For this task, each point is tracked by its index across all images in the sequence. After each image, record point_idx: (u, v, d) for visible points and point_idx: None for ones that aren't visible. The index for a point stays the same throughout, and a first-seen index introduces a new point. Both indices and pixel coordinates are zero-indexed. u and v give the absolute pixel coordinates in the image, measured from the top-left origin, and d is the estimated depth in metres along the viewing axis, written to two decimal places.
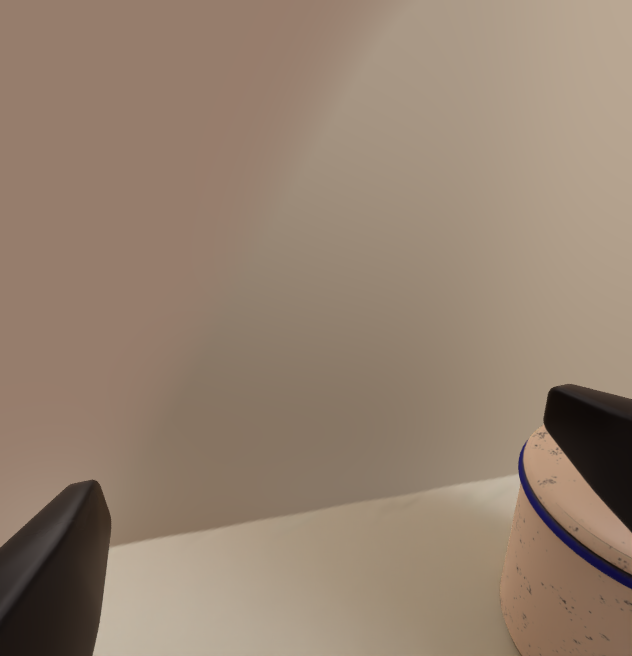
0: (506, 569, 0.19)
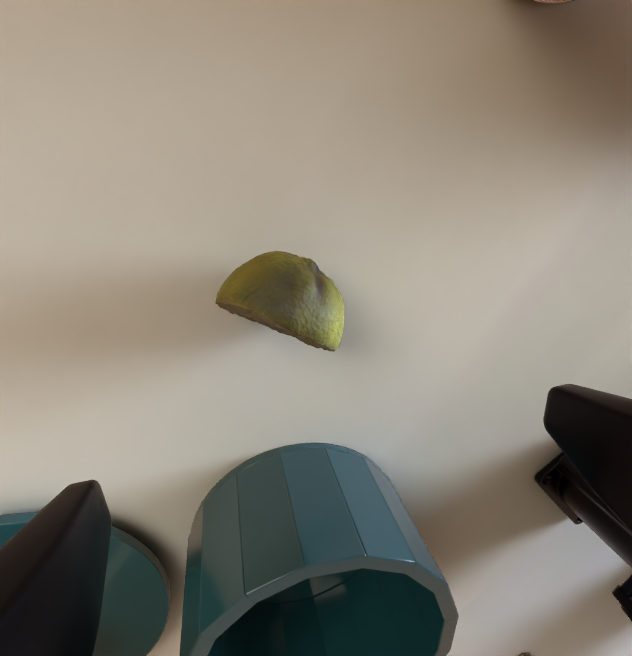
0: None
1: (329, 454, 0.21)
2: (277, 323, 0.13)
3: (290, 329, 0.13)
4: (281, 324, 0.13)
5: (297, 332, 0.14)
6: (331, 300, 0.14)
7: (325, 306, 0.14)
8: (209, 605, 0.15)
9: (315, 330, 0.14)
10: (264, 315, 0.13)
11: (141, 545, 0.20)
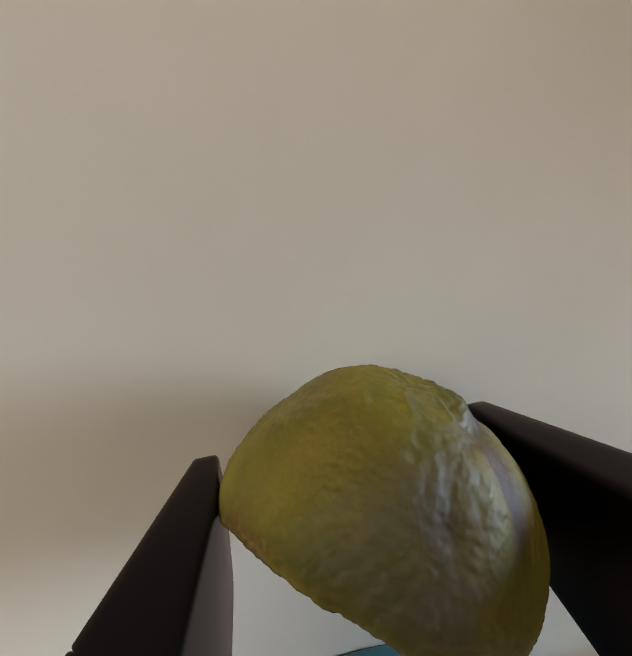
0: None
1: None
2: None
3: None
4: None
5: None
6: (541, 535, 0.05)
7: (537, 565, 0.05)
8: None
9: (519, 652, 0.05)
10: (376, 635, 0.04)
11: None
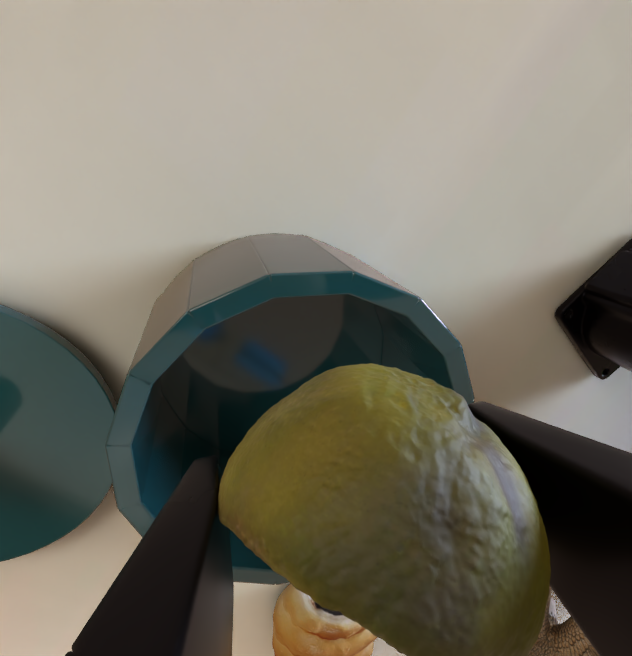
0: None
1: (310, 238, 0.17)
2: None
3: None
4: None
5: None
6: (540, 533, 0.05)
7: (537, 564, 0.05)
8: (144, 347, 0.11)
9: (519, 651, 0.05)
10: (376, 634, 0.04)
11: (78, 352, 0.16)
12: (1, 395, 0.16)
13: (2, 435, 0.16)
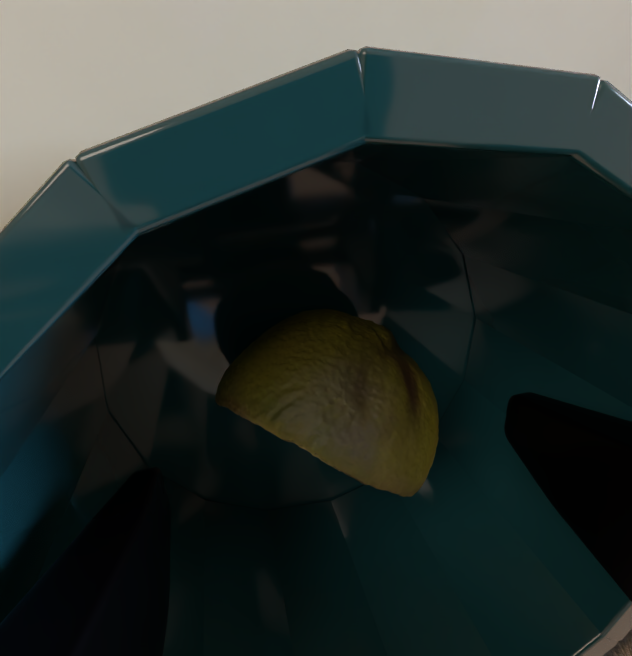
0: None
1: None
2: (339, 469, 0.07)
3: (363, 481, 0.07)
4: (347, 473, 0.07)
5: (375, 485, 0.07)
6: (430, 413, 0.08)
7: (424, 428, 0.07)
8: None
9: (407, 477, 0.07)
10: (314, 453, 0.07)
11: None
12: None
13: None
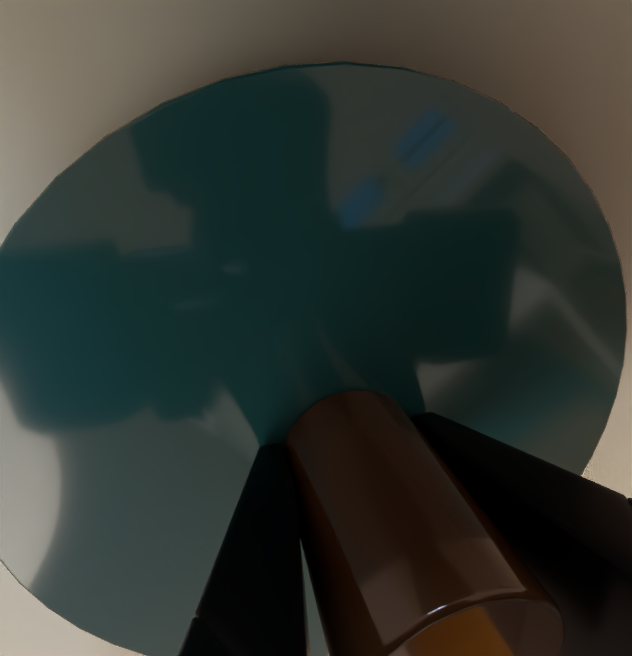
0: None
1: None
2: None
3: None
4: None
5: None
6: None
7: None
8: None
9: None
10: None
11: None
12: (240, 327, 0.07)
13: (345, 347, 0.07)
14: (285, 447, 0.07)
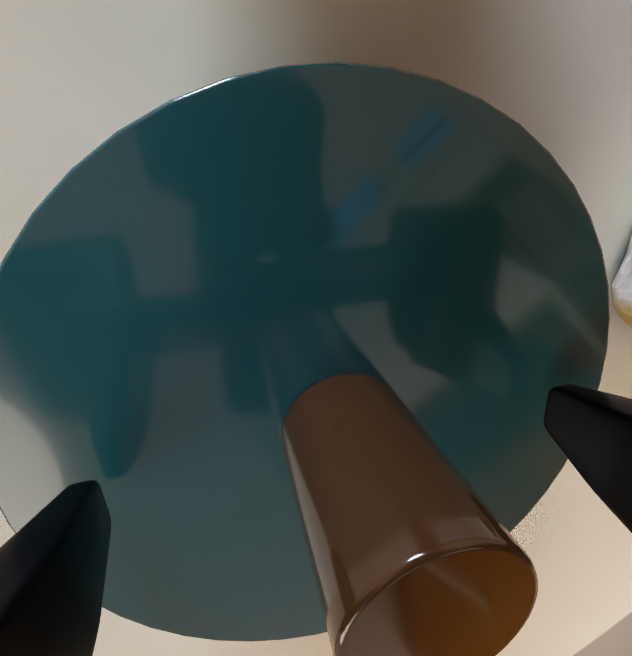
0: None
1: None
2: None
3: None
4: None
5: None
6: None
7: None
8: None
9: None
10: None
11: None
12: (241, 312, 0.07)
13: (340, 332, 0.08)
14: (284, 426, 0.08)
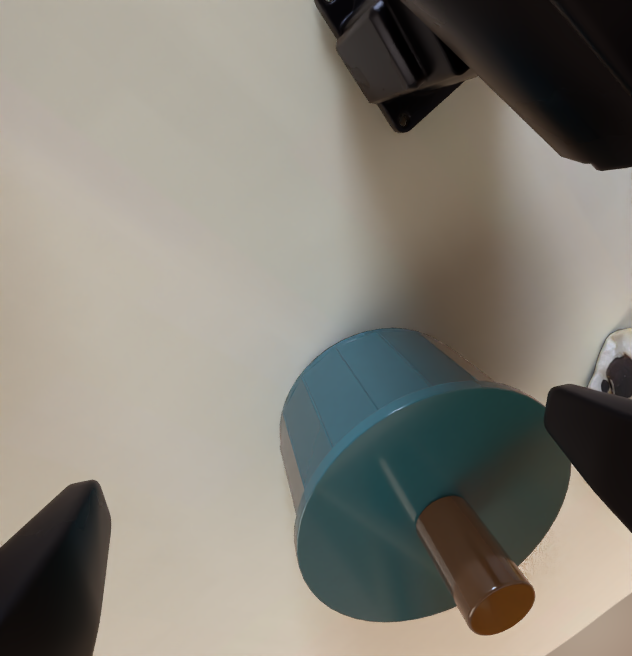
0: None
1: (285, 415, 0.21)
2: None
3: None
4: None
5: None
6: None
7: None
8: None
9: None
10: None
11: (382, 410, 0.15)
12: (407, 476, 0.16)
13: (446, 480, 0.17)
14: (419, 521, 0.17)
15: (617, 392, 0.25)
